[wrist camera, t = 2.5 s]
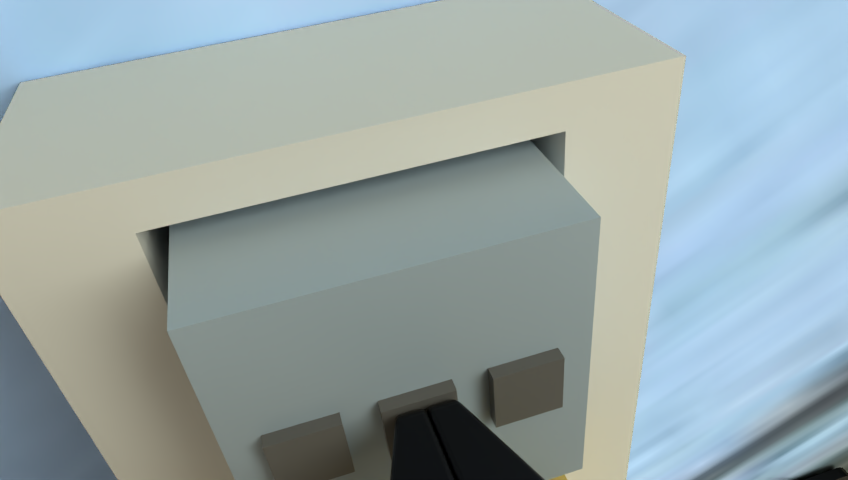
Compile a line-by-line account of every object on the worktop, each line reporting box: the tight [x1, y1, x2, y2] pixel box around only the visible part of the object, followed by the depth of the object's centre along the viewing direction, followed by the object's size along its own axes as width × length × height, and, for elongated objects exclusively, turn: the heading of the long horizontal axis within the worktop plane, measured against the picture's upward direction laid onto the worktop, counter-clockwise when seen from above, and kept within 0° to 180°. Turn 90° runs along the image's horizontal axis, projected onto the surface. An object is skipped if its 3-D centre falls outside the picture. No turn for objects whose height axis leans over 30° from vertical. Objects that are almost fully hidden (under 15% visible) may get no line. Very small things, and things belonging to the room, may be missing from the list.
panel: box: [0, 0, 686, 480], centre depth 15 cm, size 19×9×4 cm, turn 6°
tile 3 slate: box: [167, 140, 601, 480], centre depth 11 cm, size 5×5×5 cm
